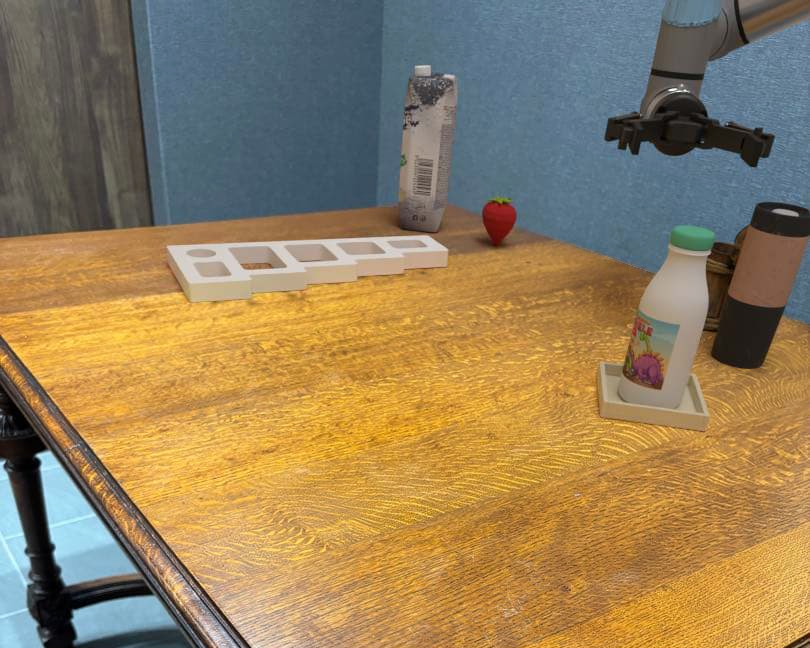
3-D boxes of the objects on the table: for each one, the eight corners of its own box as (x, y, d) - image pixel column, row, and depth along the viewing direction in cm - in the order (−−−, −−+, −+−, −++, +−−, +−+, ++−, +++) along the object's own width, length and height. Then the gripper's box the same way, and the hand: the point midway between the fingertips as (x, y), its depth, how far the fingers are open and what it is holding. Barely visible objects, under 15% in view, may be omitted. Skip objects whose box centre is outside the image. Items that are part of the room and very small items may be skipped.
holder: (426, 250, 144) (427, 235, 143) (471, 284, 131) (473, 267, 130) (167, 263, 128) (166, 245, 127) (190, 302, 115) (189, 283, 114)
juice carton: (446, 221, 162) (461, 66, 146) (441, 235, 154) (457, 72, 138) (402, 216, 163) (413, 61, 147) (394, 230, 154) (405, 66, 138)
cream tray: (691, 388, 104) (696, 373, 103) (705, 431, 94) (710, 416, 93) (596, 375, 105) (599, 360, 104) (599, 416, 95) (603, 401, 94)
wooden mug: (705, 344, 118) (745, 214, 107) (663, 310, 128) (695, 189, 118) (759, 343, 120) (804, 216, 109) (713, 310, 130) (749, 191, 120)
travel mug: (698, 355, 114) (744, 205, 102) (724, 343, 118) (771, 198, 107) (749, 374, 110) (803, 220, 98) (774, 361, 114) (828, 212, 103)
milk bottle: (660, 383, 103) (706, 220, 92) (692, 411, 97) (746, 240, 86) (606, 386, 102) (645, 219, 90) (635, 414, 96) (682, 240, 84)
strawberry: (491, 251, 147) (499, 193, 142) (471, 239, 153) (478, 183, 147) (519, 250, 150) (528, 192, 144) (498, 238, 155) (506, 182, 149)
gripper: (589, 82, 110) (595, 101, 93) (778, 100, 108) (819, 123, 91) (579, 142, 115) (582, 171, 97) (759, 161, 112) (796, 194, 95)
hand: (697, 148), depth 94 cm, fingers open, 13 cm apart
